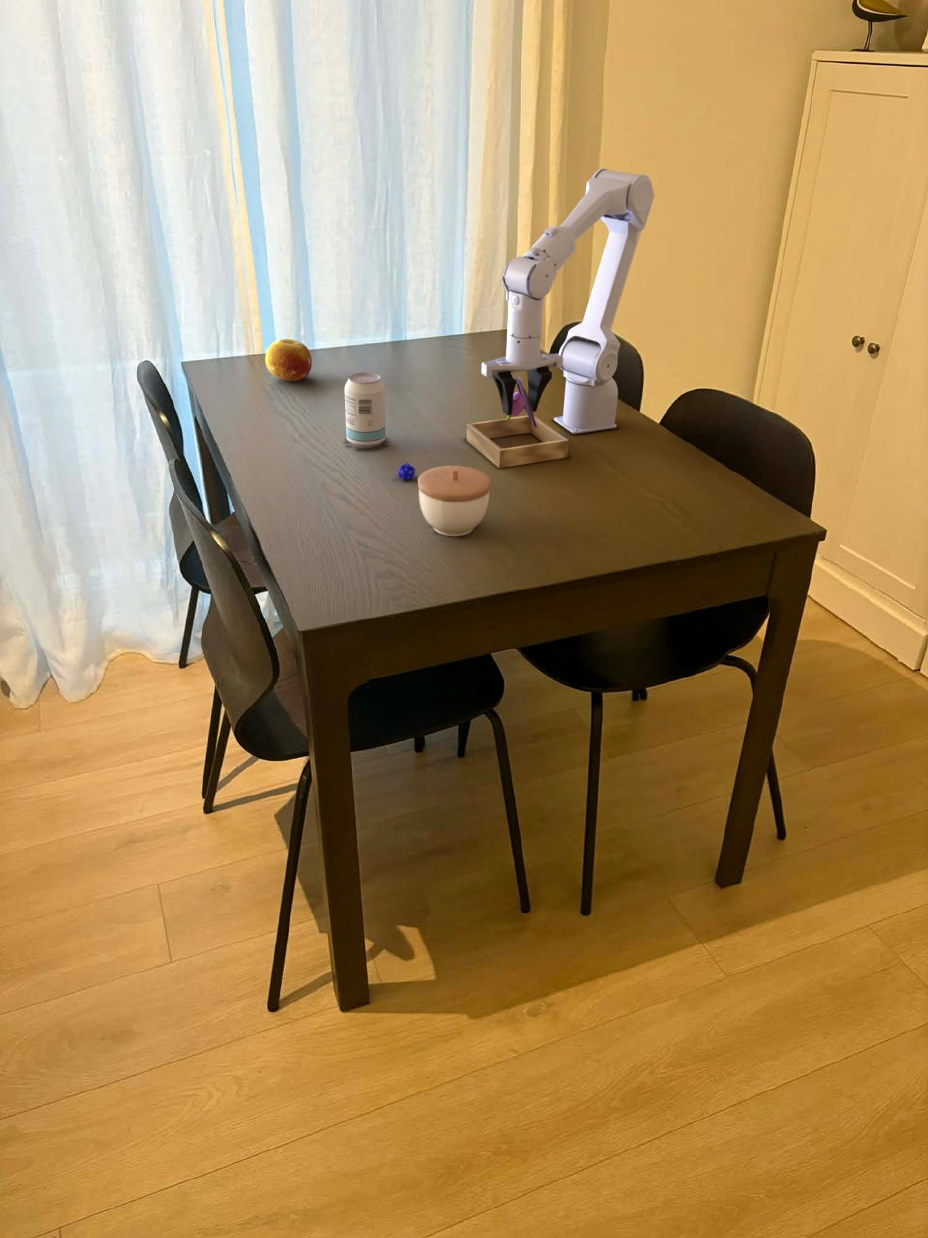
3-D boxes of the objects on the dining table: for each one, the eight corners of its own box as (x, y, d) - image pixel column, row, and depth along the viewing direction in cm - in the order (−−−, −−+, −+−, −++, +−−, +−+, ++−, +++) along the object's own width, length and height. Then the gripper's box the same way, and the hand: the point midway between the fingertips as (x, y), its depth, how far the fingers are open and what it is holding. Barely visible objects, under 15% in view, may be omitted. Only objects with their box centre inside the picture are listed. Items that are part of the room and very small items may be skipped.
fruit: (322, 378, 204) (320, 340, 200) (293, 389, 198) (290, 350, 193) (287, 369, 208) (284, 331, 204) (257, 380, 202) (254, 341, 198)
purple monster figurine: (530, 390, 164) (519, 373, 172) (501, 401, 164) (491, 383, 172) (541, 426, 168) (530, 407, 175) (512, 436, 168) (502, 417, 176)
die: (394, 480, 162) (396, 462, 163) (408, 483, 164) (410, 465, 164) (402, 478, 160) (404, 460, 160) (416, 481, 161) (418, 463, 162)
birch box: (531, 430, 182) (532, 414, 181) (567, 457, 172) (568, 440, 170) (466, 440, 177) (466, 423, 176) (499, 468, 167) (500, 450, 166)
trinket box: (497, 518, 151) (500, 461, 146) (475, 548, 142) (477, 489, 137) (432, 506, 154) (433, 450, 149) (407, 536, 145) (406, 477, 140)
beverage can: (392, 439, 177) (391, 374, 170) (373, 453, 171) (372, 386, 165) (359, 433, 179) (357, 368, 173) (339, 445, 174) (336, 379, 167)
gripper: (550, 323, 169) (545, 398, 176) (474, 331, 164) (472, 408, 171) (571, 334, 164) (564, 412, 171) (493, 342, 159) (489, 422, 166)
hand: (519, 411), depth 171 cm, fingers closed on purple monster figurine, 4 cm apart
